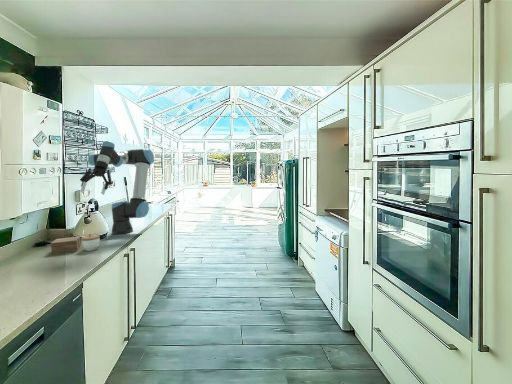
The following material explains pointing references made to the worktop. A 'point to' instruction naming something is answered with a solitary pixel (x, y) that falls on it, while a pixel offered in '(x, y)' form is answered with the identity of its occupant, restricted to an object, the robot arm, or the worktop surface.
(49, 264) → the worktop surface
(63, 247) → the walnut block
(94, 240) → the lidded jar
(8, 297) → the worktop surface
